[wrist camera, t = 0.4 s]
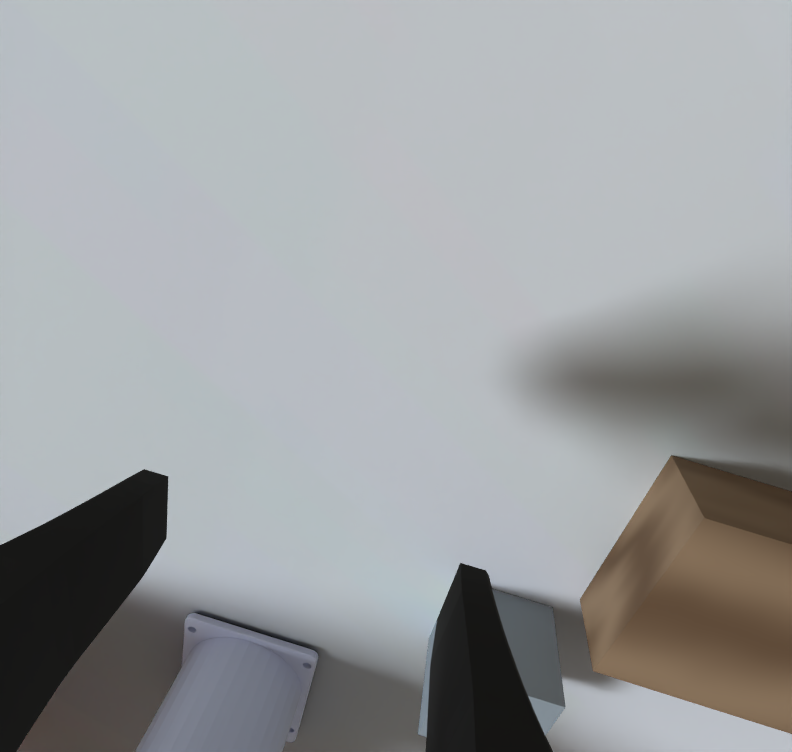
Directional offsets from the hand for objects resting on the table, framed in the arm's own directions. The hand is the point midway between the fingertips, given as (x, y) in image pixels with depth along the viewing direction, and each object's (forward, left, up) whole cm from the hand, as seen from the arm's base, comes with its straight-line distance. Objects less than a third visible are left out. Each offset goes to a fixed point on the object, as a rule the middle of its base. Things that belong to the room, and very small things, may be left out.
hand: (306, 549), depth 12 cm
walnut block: (-5, -17, -10) cm, 20 cm away
